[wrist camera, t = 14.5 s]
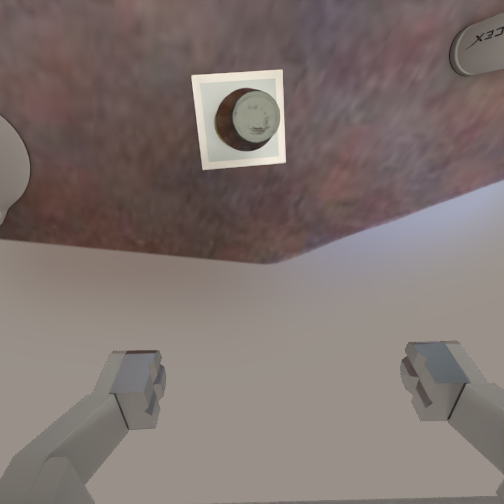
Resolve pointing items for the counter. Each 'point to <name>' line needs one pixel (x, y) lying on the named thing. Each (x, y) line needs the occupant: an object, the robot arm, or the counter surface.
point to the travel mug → (479, 47)
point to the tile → (206, 105)
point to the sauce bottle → (247, 119)
